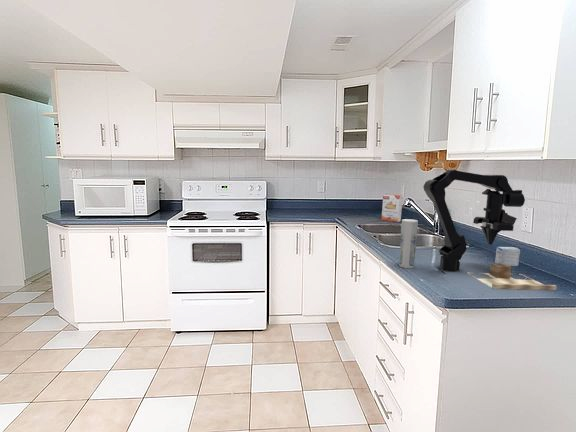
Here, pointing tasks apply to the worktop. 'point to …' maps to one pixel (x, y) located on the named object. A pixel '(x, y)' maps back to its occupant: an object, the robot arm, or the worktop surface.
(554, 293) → the worktop surface
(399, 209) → the cracker box
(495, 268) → the walnut block
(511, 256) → the medicine box
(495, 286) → the trap board
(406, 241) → the spray can
